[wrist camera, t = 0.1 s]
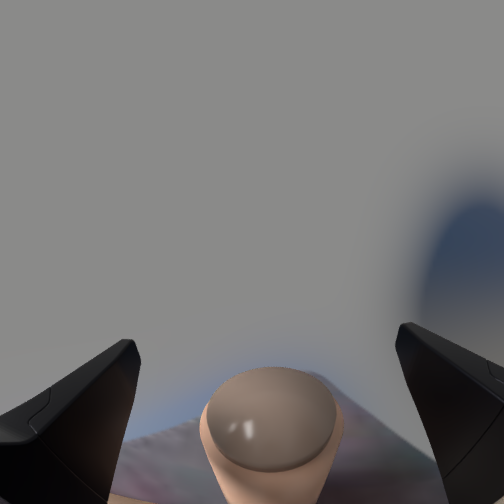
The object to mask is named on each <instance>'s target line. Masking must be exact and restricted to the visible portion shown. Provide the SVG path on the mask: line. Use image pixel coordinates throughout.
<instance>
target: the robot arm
mask: <svg viewBox="0 0 504 504" xmlns="http://www.w3.org/2000/svg"><path fill="white" fill-rule="evenodd" d="M395 347H396V352H397V355H398V358H399V361H400V364H401V367H402V371H403V374H404V377H405V380H406V383H407V386H408V388H409V391H410V393H411V395H412V398H413V400H414V403H415V405H416V407H417V410H418V413H419V415H420V418H421V420H422V423H423V426H424V428H425V430H426V433H427V436H428V439H429V442H430V444H431V447H432V450H433V453H434V456H435V459H436V462H437V465H438V468H439V471H440V474H441V477H442V479H443V480H442V481H443V484H444V488H445V491H446V494H447V498H448V501H449V504H504V368H503V367H501V366H499V365H497V364H495V363H493V362H491V361H489V360H486V359H485V358H483V357H481V356H479V355H477V354H475V353H473V352H471V351H469V350H467V349H465V348H463V347H461V346H459V345H457V344H455V343H453V342H450V341H449V340H447V339H445V338H443V337H441V336H439V335H437V334H435V333H433V332H431V331H429V330H427V329H425V328H423V327H420V326H418V325H416V324H414V323H412V322H408V323H403V324H401V325H400V327H399V331H398V335H397V339H396V343H395ZM140 366H141V359H140V355H139V352H138V350H137V347H136V344H135V342H134V341H133V340H132V339H122V340H120V341H119V342H117V343H116V344H114V345H113V346H111V347H110V348H108V349H107V350H105V351H104V352H102V353H101V354H99V355H97V356H96V357H94V358H93V359H91V360H90V361H88V362H87V363H85V364H84V365H82V366H81V367H79V368H78V369H76V370H75V371H73V372H72V373H70V374H69V375H67V376H66V377H64V378H63V379H61V380H60V381H58V382H57V383H55V384H54V385H52V386H51V387H49V388H47V389H46V390H44V391H43V392H41V393H40V394H38V395H37V396H35V397H33V398H32V399H30V400H28V401H27V402H25V403H23V404H21V405H20V406H18V407H16V408H14V409H12V410H10V411H9V412H6V413H4V414H3V415H1V416H0V504H108V499H109V494H110V490H111V485H112V481H113V477H114V473H115V469H116V464H117V460H118V457H119V453H120V449H121V445H122V441H123V438H124V434H125V430H126V427H127V423H128V420H129V416H130V413H131V409H132V406H133V402H134V398H135V393H136V387H137V382H138V376H139V371H140Z"/></svg>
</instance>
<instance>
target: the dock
mask: <svg viewBox="0 0 504 504" xmlns="http://www.w3.org/2000/svg"><path fill="white" fill-rule="evenodd" d="M108 504H156V503H150V502H145V501H140V500H136V499H131V498H127V497H123V496H119V495H115V494H112V493H110V494H109V499H108Z"/></svg>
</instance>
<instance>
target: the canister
mask: <svg viewBox="0 0 504 504" xmlns="http://www.w3.org/2000/svg"><path fill="white" fill-rule="evenodd" d="M343 429H344V420H343V415H342V412H341V409H340V406H339V405H338V403H337V401H336V400H335V399H334V397H333V396H332V394H331V393H330V391H329V390H328V389H327V387H326V386H325V385H324V384H323V383H322V382H320V381H319V380H318V379H316V378H315V377H313V376H311V375H309V374H307V373H305V372H302V371H299V370H295V369H291V368H284V367H264V368H257V369H252V370H249V371H245V372H243V373H240V374H238V375H236V376H234V377H232V378H230V379H229V380H227V381H226V382H225V383H223V384H222V385H221V386H220V387H219V388H218V389H217V390H216V391H215V393H214V394H213V396H212V397H211V399H210V401H209V402H208V404H207V405H206V407H205V409H204V411H203V413H202V416H201V420H200V437H201V440H202V443H203V446H204V449H205V451H206V454H207V456H208V459H209V461H210V464H211V466H212V468H213V471H214V473H215V476H216V478H217V480H218V483H219V485H220V487H221V489H222V492H223V494H224V496H225V498H226V500H227V502H228V504H316V502H317V500H318V497H319V495H320V493H321V491H322V488H323V486H324V483H325V481H326V479H327V476H328V474H329V471H330V468H331V466H332V463H333V461H334V458H335V455H336V452H337V450H338V447H339V444H340V441H341V438H342V435H343Z"/></svg>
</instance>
